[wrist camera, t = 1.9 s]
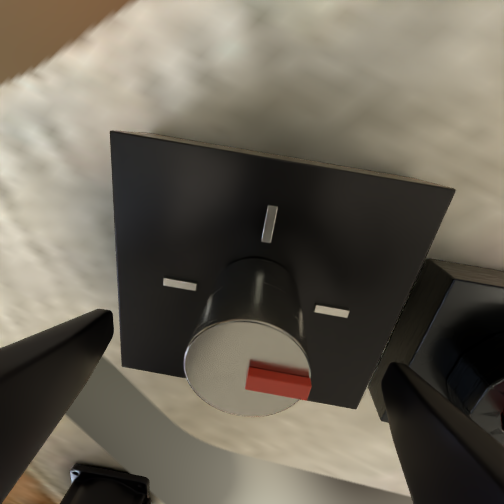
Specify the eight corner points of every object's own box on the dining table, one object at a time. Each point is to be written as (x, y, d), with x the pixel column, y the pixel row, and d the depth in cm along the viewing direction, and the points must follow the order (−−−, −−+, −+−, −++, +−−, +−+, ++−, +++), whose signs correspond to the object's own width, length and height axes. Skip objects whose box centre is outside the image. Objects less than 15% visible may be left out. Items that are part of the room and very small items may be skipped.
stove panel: (147, 328, 16) (119, 369, 13) (147, 132, 12) (105, 129, 9) (342, 363, 16) (357, 413, 13) (414, 178, 12) (460, 190, 9)
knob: (209, 323, 12) (176, 414, 8) (217, 250, 10) (183, 316, 6) (289, 338, 12) (296, 437, 8) (308, 266, 10) (329, 342, 6)
